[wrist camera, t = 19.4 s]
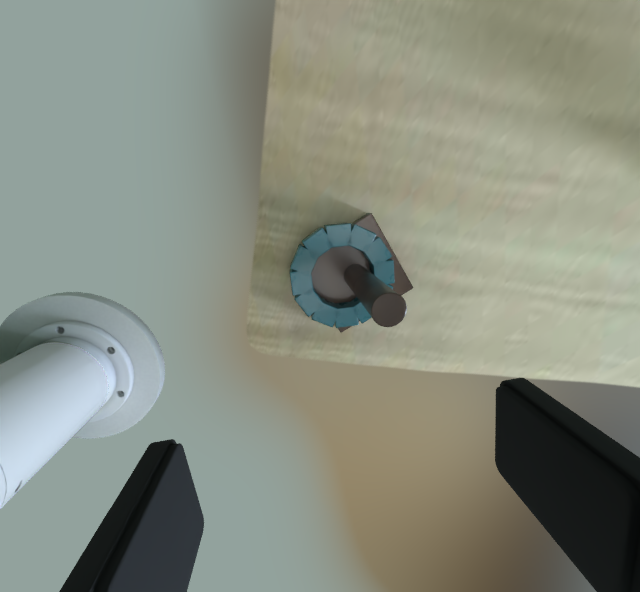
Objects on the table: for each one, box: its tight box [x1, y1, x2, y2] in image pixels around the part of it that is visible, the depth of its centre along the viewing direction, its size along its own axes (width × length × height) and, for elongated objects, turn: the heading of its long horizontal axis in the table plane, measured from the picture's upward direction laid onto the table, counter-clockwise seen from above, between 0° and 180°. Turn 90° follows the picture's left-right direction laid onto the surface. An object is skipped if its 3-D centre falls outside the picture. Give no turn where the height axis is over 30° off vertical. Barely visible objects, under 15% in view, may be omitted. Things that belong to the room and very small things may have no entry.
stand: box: [311, 213, 413, 332], centre depth 27 cm, size 9×9×14 cm
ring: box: [290, 223, 395, 328], centre depth 31 cm, size 10×10×2 cm
